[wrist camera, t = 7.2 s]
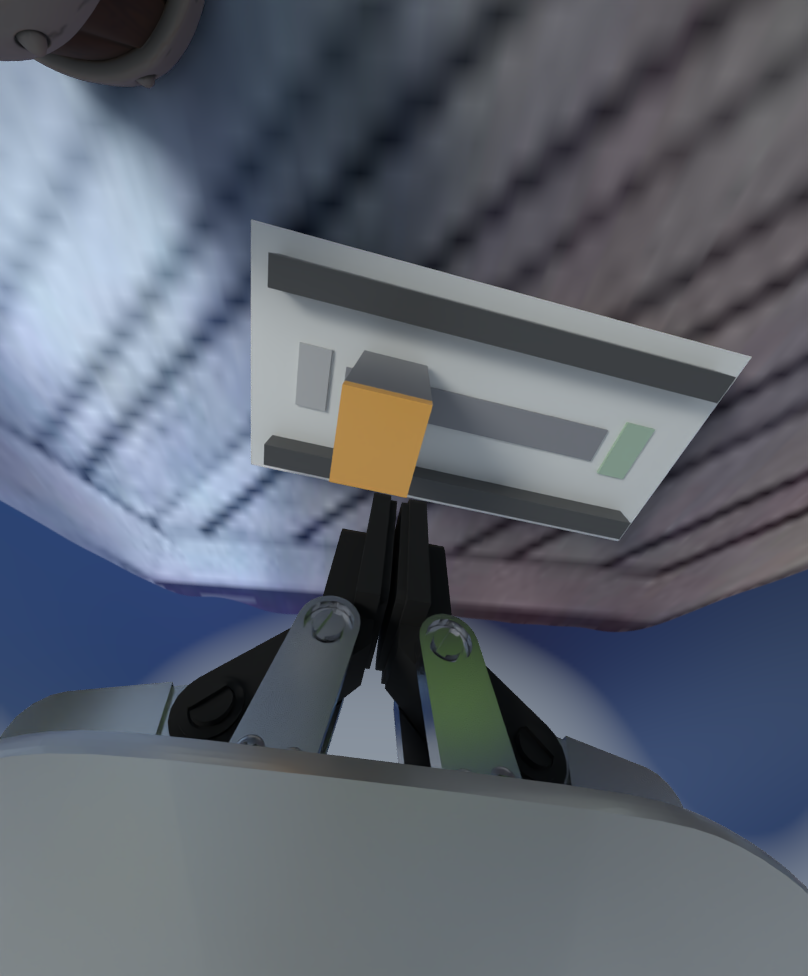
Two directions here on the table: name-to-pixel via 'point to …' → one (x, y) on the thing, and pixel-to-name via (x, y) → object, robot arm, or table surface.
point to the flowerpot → (100, 37)
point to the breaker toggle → (381, 424)
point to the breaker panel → (476, 384)
